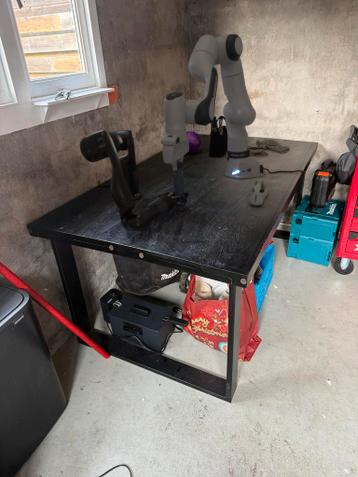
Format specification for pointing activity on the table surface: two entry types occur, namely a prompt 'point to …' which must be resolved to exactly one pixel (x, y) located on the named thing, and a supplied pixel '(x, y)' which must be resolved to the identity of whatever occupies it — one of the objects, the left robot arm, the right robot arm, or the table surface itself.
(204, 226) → the table surface
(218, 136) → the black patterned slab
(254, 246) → the table surface
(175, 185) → the bottle
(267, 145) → the pair of gloves
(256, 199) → the ballet flat
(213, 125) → the boot
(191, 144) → the decorative orb
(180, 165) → the cap
